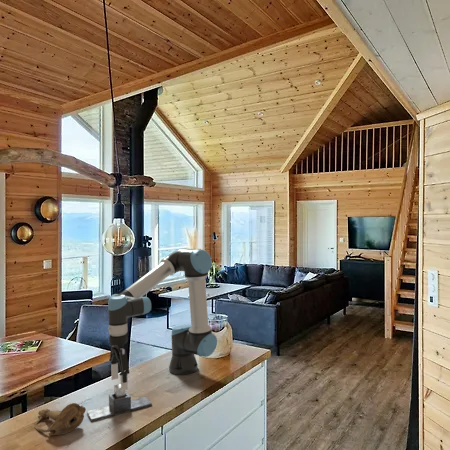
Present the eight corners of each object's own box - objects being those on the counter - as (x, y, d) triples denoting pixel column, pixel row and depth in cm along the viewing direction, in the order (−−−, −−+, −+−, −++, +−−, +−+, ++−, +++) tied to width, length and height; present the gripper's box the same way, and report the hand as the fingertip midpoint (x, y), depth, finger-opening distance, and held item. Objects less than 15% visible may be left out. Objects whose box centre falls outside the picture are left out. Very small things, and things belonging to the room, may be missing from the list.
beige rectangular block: (123, 406, 173) (122, 383, 173) (125, 410, 170) (125, 386, 170) (114, 409, 171) (114, 385, 171) (117, 412, 168) (116, 388, 168)
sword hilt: (48, 427, 145) (82, 397, 156) (15, 408, 160) (49, 382, 171) (58, 448, 148) (91, 417, 159) (25, 427, 163) (57, 401, 174)
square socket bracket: (145, 398, 180) (145, 385, 180) (151, 405, 174) (151, 391, 174) (87, 413, 167) (86, 399, 167) (91, 421, 161) (91, 406, 161)
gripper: (101, 328, 179) (102, 376, 179) (117, 342, 158) (119, 397, 158) (118, 326, 183) (119, 373, 183) (136, 339, 161) (137, 392, 162)
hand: (119, 384), depth 170 cm, fingers open, 13 cm apart
